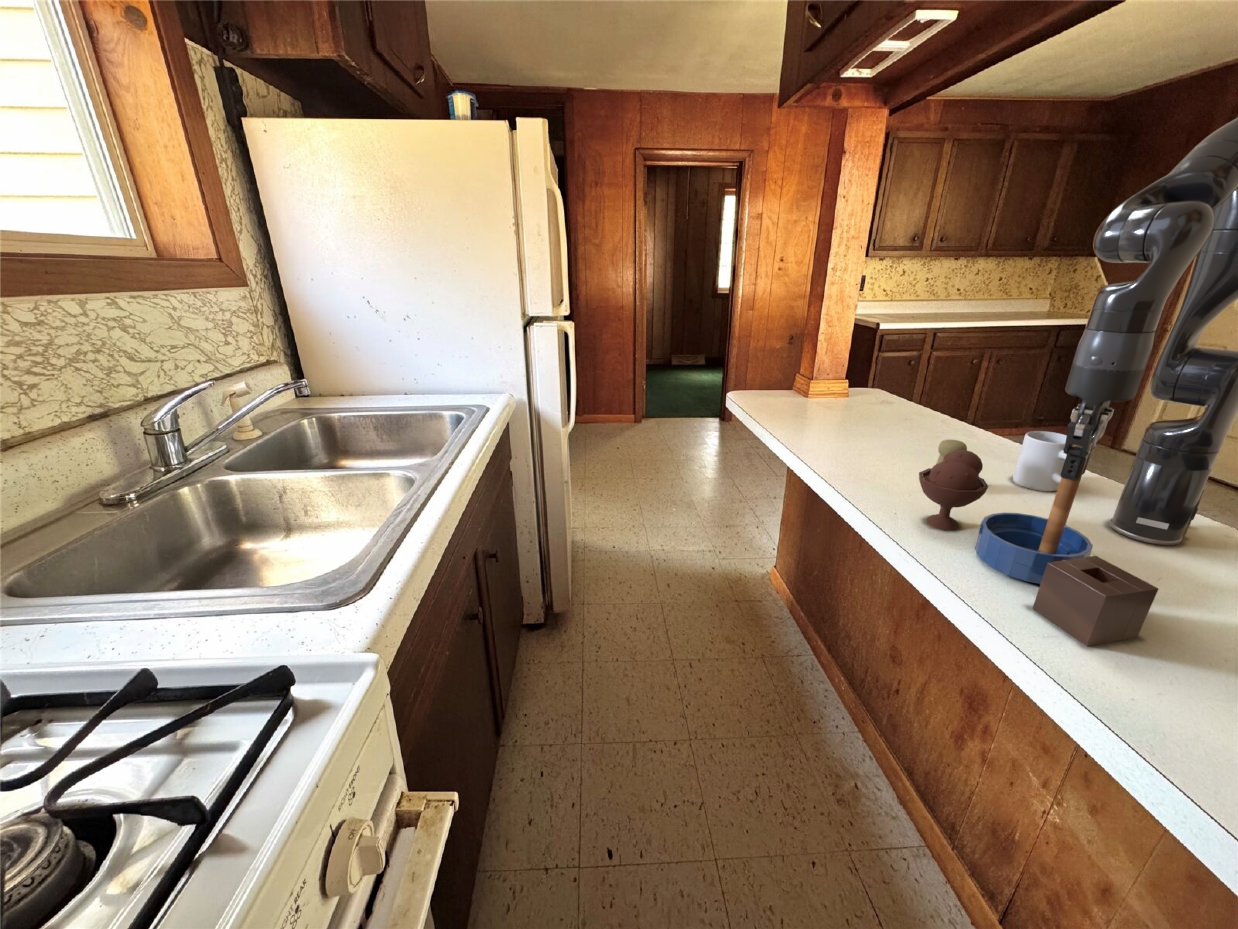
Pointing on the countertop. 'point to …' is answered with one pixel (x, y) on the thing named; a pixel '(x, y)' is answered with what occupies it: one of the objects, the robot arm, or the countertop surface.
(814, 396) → the countertop surface
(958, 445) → the cork
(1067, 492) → the stirring stick
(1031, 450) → the mug
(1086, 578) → the stand
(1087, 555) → the blue round bowl
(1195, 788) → the countertop surface
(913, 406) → the countertop surface
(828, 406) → the countertop surface
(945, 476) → the ice cream bowl
